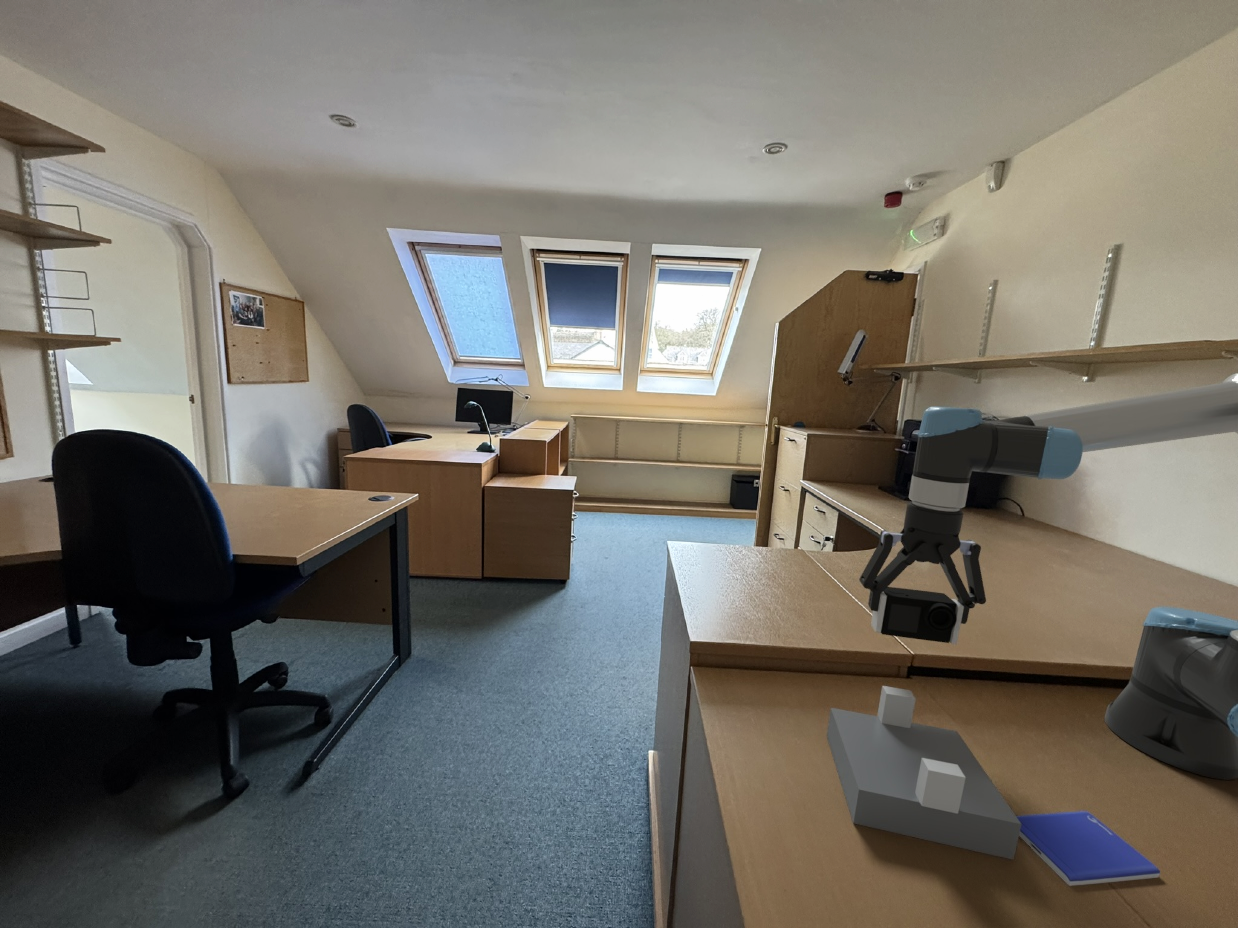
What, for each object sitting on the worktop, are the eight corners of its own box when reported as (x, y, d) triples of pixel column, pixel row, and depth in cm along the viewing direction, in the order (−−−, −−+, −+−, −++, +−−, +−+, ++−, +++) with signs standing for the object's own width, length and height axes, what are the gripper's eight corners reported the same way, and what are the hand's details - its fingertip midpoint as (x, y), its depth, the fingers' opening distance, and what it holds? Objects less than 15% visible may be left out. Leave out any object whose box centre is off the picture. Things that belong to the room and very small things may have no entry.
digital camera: (884, 638, 77) (890, 598, 76) (872, 622, 82) (878, 584, 81) (953, 647, 76) (961, 606, 74) (936, 630, 81) (944, 592, 80)
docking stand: (949, 757, 73) (961, 699, 72) (1015, 863, 57) (1032, 790, 55) (825, 733, 77) (834, 677, 75) (854, 826, 60) (866, 757, 59)
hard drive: (1085, 808, 64) (1005, 814, 62) (1161, 869, 56) (1071, 877, 54) (1083, 818, 64) (1003, 824, 63) (1158, 880, 56) (1068, 889, 55)
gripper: (1004, 507, 76) (979, 634, 80) (850, 492, 81) (833, 612, 85) (1034, 519, 69) (1004, 658, 73) (863, 502, 74) (843, 633, 77)
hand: (912, 634), depth 79 cm, fingers closed on digital camera, 10 cm apart
